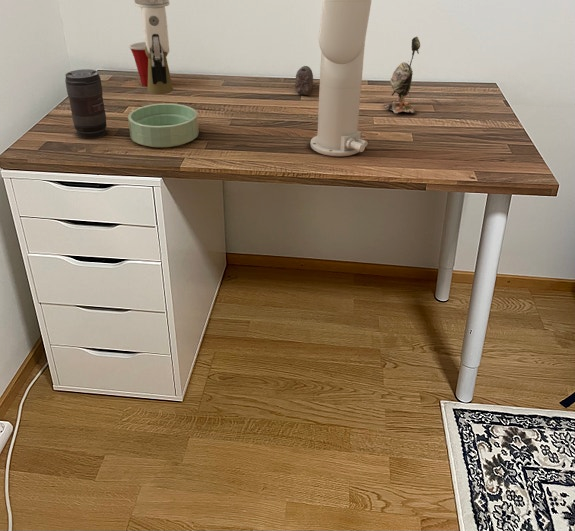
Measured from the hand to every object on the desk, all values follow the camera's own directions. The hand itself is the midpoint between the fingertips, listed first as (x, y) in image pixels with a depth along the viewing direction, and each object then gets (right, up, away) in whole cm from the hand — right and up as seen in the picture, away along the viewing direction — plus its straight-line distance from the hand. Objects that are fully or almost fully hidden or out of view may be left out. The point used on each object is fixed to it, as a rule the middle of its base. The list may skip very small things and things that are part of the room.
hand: (159, 80), depth 147 cm
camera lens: (-19, -11, +8) cm, 23 cm away
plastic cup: (-11, +11, +43) cm, 46 cm away
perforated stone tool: (+35, +9, +40) cm, 54 cm away
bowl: (0, -12, +8) cm, 14 cm away
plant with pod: (+61, 0, +27) cm, 67 cm away
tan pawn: (0, -2, +2) cm, 3 cm away
